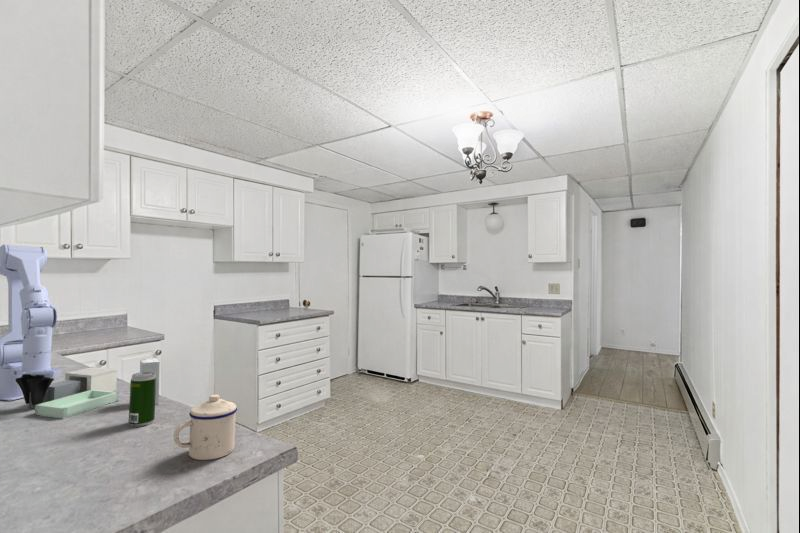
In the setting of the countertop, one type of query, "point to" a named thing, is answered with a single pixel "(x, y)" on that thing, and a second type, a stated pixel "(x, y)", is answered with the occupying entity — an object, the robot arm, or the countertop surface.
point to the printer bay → (94, 378)
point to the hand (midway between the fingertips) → (34, 403)
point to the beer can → (142, 399)
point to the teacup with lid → (210, 429)
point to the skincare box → (151, 366)
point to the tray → (76, 403)
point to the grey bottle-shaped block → (59, 391)
